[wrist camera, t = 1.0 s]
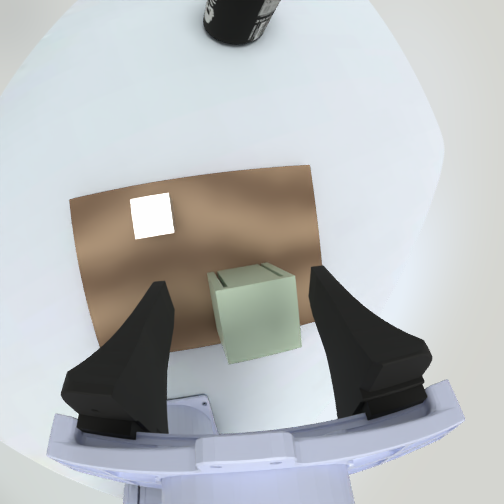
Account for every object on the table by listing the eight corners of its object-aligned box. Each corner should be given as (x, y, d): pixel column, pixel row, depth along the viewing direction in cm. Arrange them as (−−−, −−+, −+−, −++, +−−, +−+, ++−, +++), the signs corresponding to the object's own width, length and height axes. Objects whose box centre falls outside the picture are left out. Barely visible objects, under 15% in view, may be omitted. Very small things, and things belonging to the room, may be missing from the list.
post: (176, 230, 24) (174, 232, 18) (146, 235, 23) (135, 239, 18) (172, 199, 23) (168, 193, 18) (142, 204, 23) (130, 199, 17)
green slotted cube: (274, 318, 26) (301, 347, 20) (217, 330, 25) (228, 364, 19) (267, 262, 26) (295, 275, 19) (206, 272, 25) (215, 290, 18)
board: (320, 315, 29) (325, 318, 28) (107, 355, 24) (104, 360, 23) (304, 166, 27) (309, 164, 26) (74, 200, 22) (69, 199, 21)
